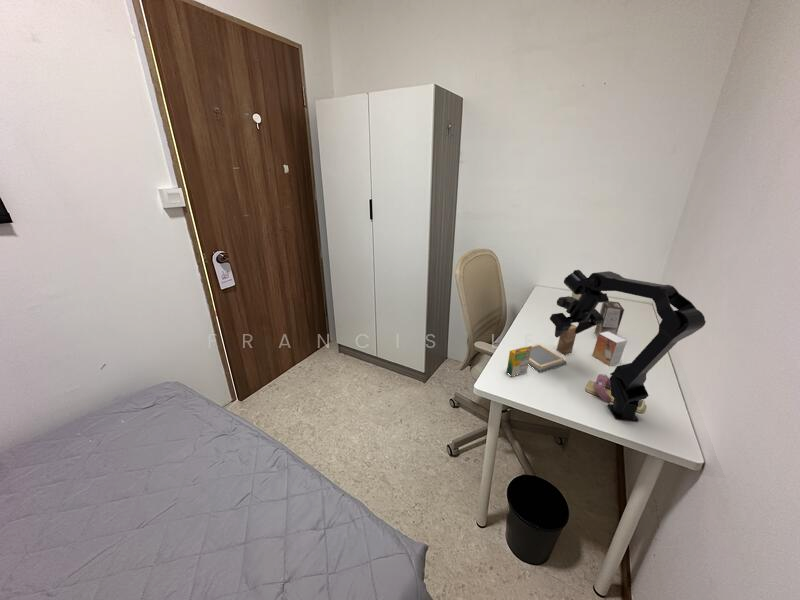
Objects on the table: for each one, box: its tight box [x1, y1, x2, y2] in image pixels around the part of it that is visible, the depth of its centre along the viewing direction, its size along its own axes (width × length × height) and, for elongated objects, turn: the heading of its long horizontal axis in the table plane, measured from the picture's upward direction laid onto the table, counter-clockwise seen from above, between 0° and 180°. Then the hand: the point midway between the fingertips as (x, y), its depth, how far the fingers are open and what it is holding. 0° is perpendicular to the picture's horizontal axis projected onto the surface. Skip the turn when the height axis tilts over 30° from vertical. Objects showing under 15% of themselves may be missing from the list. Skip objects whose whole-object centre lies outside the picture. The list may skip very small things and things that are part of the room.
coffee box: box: [594, 300, 625, 339], centre depth 146 cm, size 9×6×16 cm
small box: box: [592, 331, 628, 367], centre depth 130 cm, size 8×6×10 cm
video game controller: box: [593, 373, 612, 403], centre depth 113 cm, size 10×5×7 cm, turn 141°
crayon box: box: [506, 345, 532, 377], centre depth 121 cm, size 7×3×12 cm, turn 113°
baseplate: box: [527, 343, 568, 374], centre depth 131 cm, size 14×14×2 cm
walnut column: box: [556, 323, 578, 356], centre depth 135 cm, size 4×4×12 cm
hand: (566, 334), depth 122 cm, fingers open, 9 cm apart
